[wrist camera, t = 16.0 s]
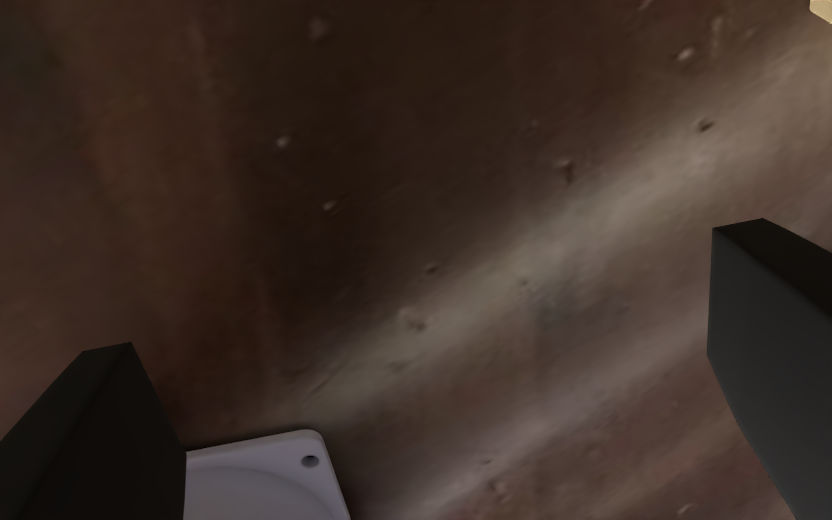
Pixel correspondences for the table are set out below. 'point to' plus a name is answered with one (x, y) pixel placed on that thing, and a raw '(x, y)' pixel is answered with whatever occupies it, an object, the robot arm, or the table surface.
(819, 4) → the notched tile
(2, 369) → the table surface
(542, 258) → the table surface
